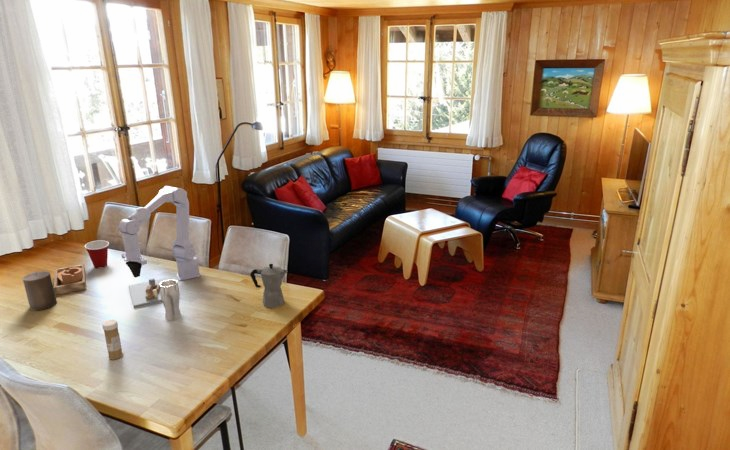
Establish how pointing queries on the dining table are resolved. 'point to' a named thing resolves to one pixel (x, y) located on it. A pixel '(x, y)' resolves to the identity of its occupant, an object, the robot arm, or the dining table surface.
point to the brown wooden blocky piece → (151, 291)
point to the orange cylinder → (70, 276)
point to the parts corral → (71, 286)
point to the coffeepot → (271, 285)
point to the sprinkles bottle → (112, 339)
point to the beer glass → (170, 299)
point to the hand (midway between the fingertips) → (137, 276)
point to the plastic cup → (98, 252)
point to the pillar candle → (39, 290)
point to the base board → (140, 293)
